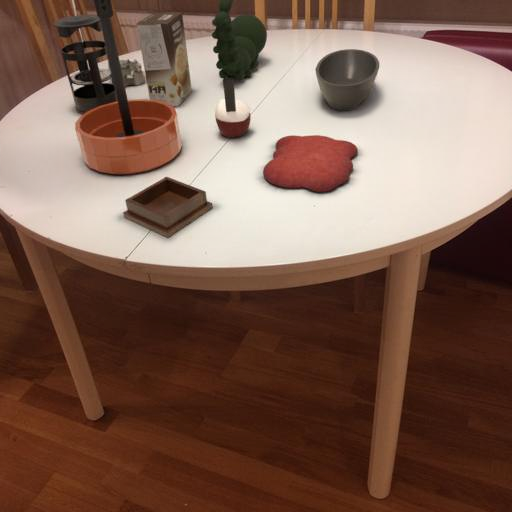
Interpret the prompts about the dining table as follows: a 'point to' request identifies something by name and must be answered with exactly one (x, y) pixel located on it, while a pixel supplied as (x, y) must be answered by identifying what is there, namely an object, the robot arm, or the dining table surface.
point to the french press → (86, 64)
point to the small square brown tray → (167, 206)
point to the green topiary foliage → (237, 42)
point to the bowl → (346, 77)
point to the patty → (310, 162)
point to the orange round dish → (129, 137)
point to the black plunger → (117, 78)
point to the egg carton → (131, 72)
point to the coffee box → (165, 57)
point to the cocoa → (232, 112)
